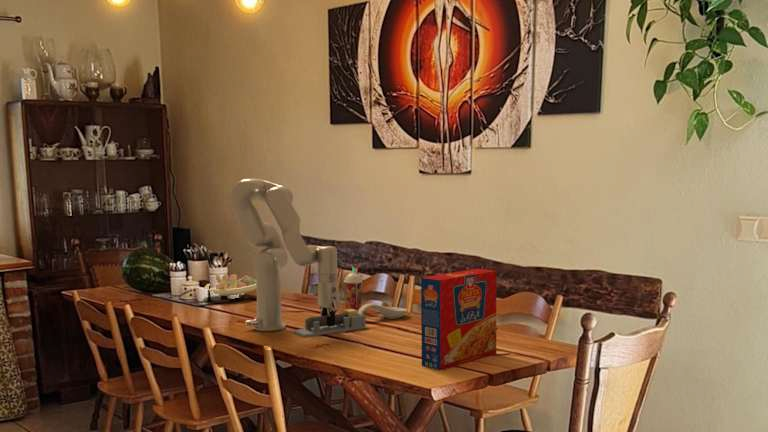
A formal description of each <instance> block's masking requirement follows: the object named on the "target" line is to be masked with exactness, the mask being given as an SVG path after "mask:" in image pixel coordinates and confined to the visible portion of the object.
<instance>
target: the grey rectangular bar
mask: <svg viewBox="0 0 768 432" xmlns="http://www.w3.org/2000/svg"><path fill="white" fill-rule="evenodd" d="M335 314H336V315H335V325H336V324H343V318H344V317H349V324H350V317H353V316H358V311H357V310H354V309H346V308H345V309H343V310H342V313H341V312H340V313H335ZM327 316H328V315H325V316H321V315H320V316H319V315H318V316H310V317H308V320H307V324H308V327H309V328H313V322H315V321H319V324H320V327H322V326H327Z"/></svg>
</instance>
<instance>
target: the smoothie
mask: <svg viewBox="0 0 768 432" xmlns="http://www.w3.org/2000/svg"><path fill="white" fill-rule="evenodd" d="M351 270H352V271H351V272H350V273H348V274H347V275H346V276H345V278H344V280H343V288H344V289H343V292H344V304H345V310H346V309H354V310H357V311H358V310H359V309H360V308H361V307H362V301H363V299H362V298H363V296H362V293H363V280H362V278H361V276H360V275H359V274H358V273H355V271H354V270H355V269H354V266H351Z"/></svg>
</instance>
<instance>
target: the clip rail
mask: <svg viewBox="0 0 768 432" xmlns="http://www.w3.org/2000/svg"><path fill="white" fill-rule="evenodd" d="M308 318H309V317H308ZM308 318H304V321H305V322H304V325H305V326H304V327H305V328H301V329H300V328H299V329H293V334H295V335H298V336H299V337H302V338H309V337H315V336H321V335H329V334H335V333H340V332H341V333H343V332H348V331H355V330H361V329H366V326H367V324H366V319H367V318H366V315H365V314H363V315H362V314H359V313H358V316H353V317H350V324H349V317H344V318H343V324H336V325H335V326H330V327H328V326H322V327H320V324H319V321H315V322H313V328H309V327H308V324H307V320H308Z"/></svg>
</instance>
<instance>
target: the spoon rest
mask: <svg viewBox="0 0 768 432" xmlns="http://www.w3.org/2000/svg"><path fill="white" fill-rule="evenodd" d="M369 308H374V309H376V310H377V311H378V312H379V313H380V314H381V315H382V316H383V317H384V318H385V319H389V320H390V319H391V320H394V319H396V320H397V319H400V318H402V317H404V316H405V315H406V314H407V313H408V309H407V308H404V307H396V306H383V305H379V304H376V303H373V302H372V303H371V302H369V303H366V304H363V305H361V308H360V309H359V310H358V313H359V314H362V315H364V312H365V311H366V310H368V309H369Z"/></svg>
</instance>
